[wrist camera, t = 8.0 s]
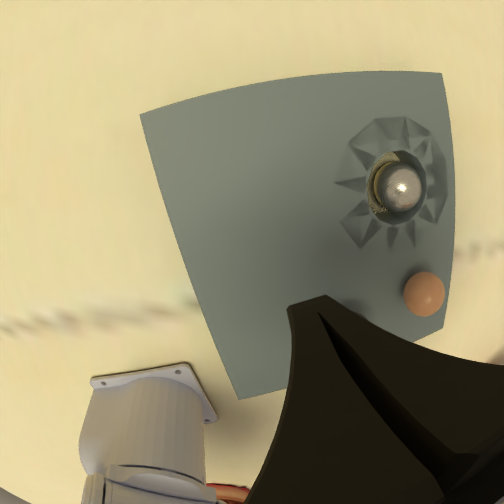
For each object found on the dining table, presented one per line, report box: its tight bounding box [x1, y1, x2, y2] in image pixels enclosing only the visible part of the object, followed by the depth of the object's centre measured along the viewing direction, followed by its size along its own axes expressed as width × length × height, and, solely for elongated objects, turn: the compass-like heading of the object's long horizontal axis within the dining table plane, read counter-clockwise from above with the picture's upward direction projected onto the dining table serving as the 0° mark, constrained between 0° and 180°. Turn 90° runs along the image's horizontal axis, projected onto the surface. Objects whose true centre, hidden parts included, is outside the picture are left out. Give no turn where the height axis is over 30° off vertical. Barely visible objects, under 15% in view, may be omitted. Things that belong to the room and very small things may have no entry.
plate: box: [140, 71, 455, 400], centre depth 18 cm, size 18×20×2 cm
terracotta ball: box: [403, 271, 445, 317], centre depth 17 cm, size 3×3×3 cm
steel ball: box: [374, 161, 422, 212], centre depth 17 cm, size 3×3×3 cm
